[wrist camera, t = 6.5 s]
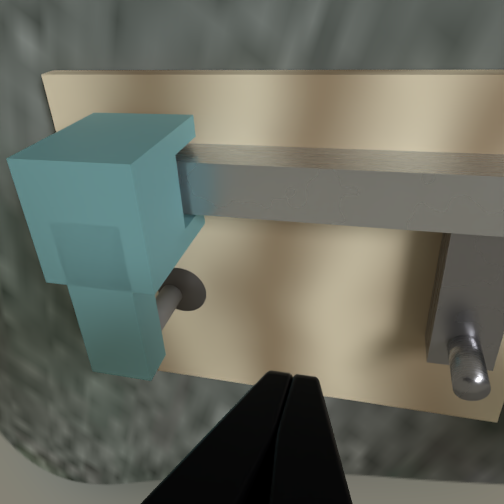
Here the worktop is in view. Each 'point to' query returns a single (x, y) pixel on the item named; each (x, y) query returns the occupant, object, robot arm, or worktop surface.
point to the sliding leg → (111, 228)
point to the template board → (310, 228)
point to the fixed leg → (467, 311)
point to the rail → (346, 187)
